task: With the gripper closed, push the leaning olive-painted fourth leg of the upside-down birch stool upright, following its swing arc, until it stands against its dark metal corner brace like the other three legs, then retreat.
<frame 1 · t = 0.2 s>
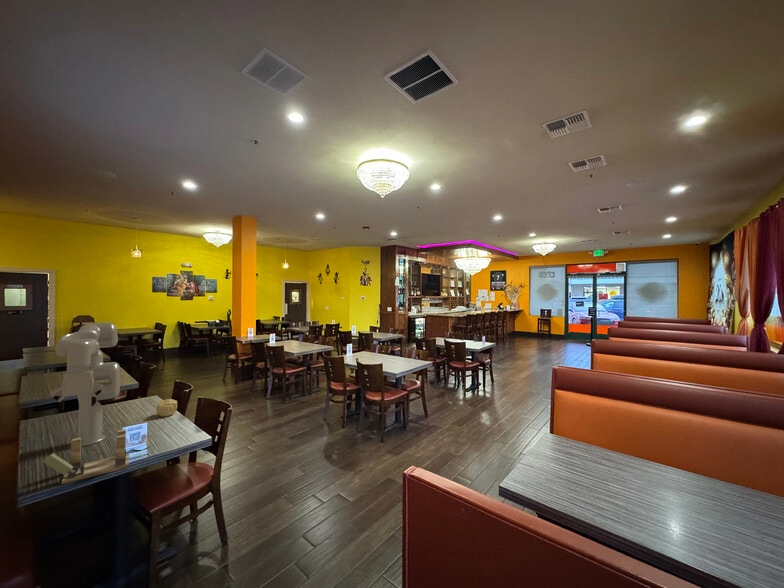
hand: (77, 407, 142), 31 cm above the table, fingers open, 9 cm apart
beige rounded lump: (166, 415, 218), on the table
stool seat: (98, 468, 149), on the table
hinged leg: (61, 466, 139), point 7 cm above the table, hinge at 40.0°
flask: (141, 448, 170), on the table
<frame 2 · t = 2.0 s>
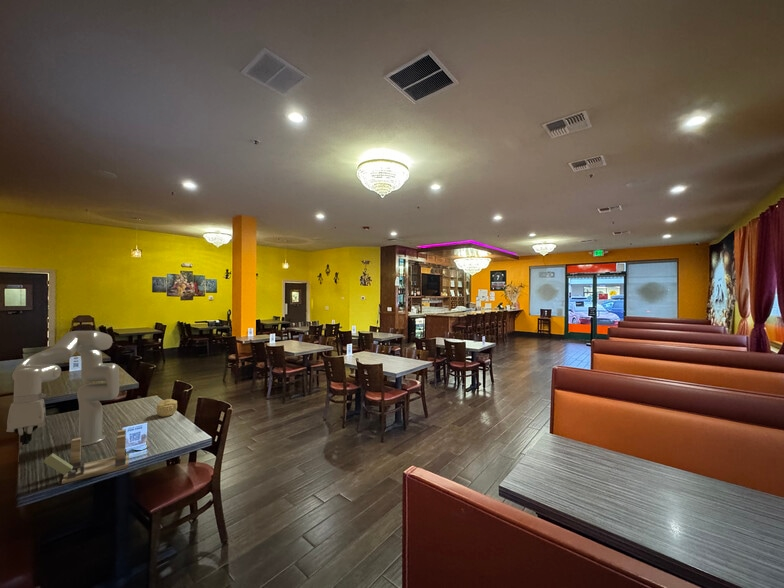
hand: (25, 443, 132), 19 cm above the table, fingers closed
nothing on the table moved.
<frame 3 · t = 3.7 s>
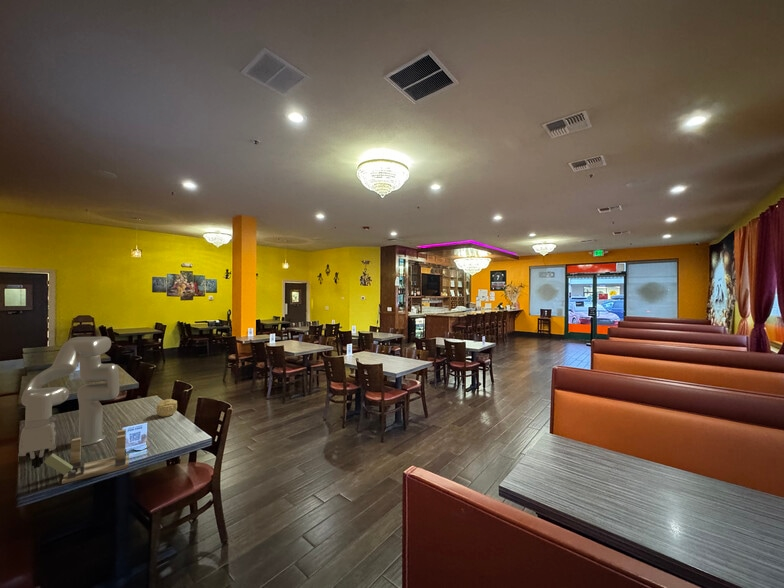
hand: (37, 466, 134), 9 cm above the table, fingers closed
hinged leg: (61, 466, 139), point 7 cm above the table, hinge at 40.0°, touching gripper
everything else where it was.
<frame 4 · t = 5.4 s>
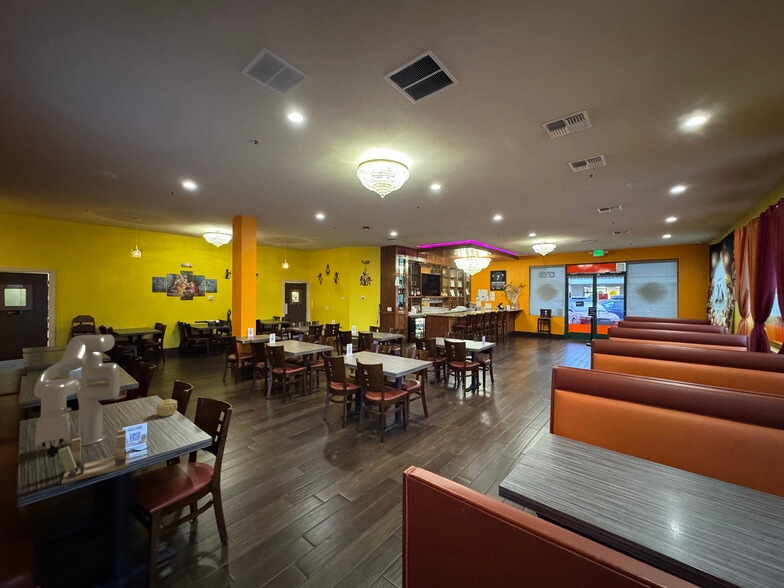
hand: (52, 455, 137), 12 cm above the table, fingers closed
hinged leg: (68, 461, 140), point 8 cm above the table, hinge at 15.0°, touching gripper
everything else where it was.
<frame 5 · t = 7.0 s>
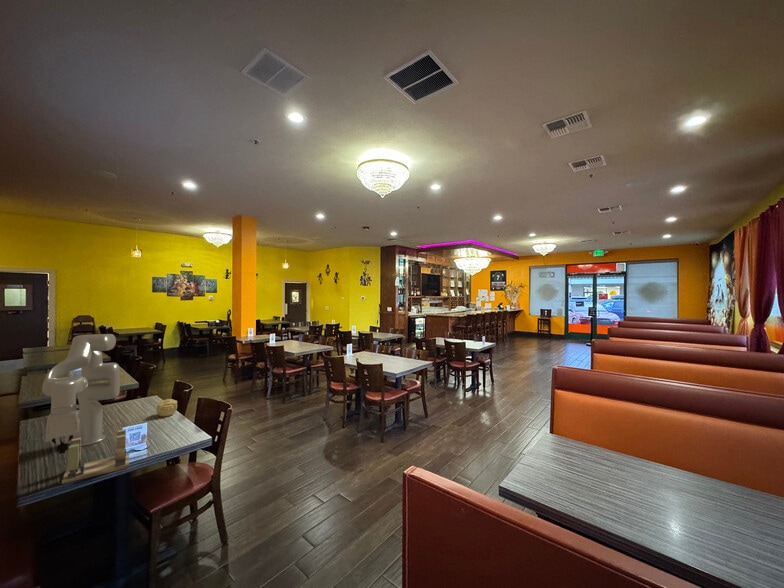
hand: (62, 452, 139), 12 cm above the table, fingers closed
hinged leg: (73, 460, 141), point 8 cm above the table, hinge at -0.7°
everything else where it was.
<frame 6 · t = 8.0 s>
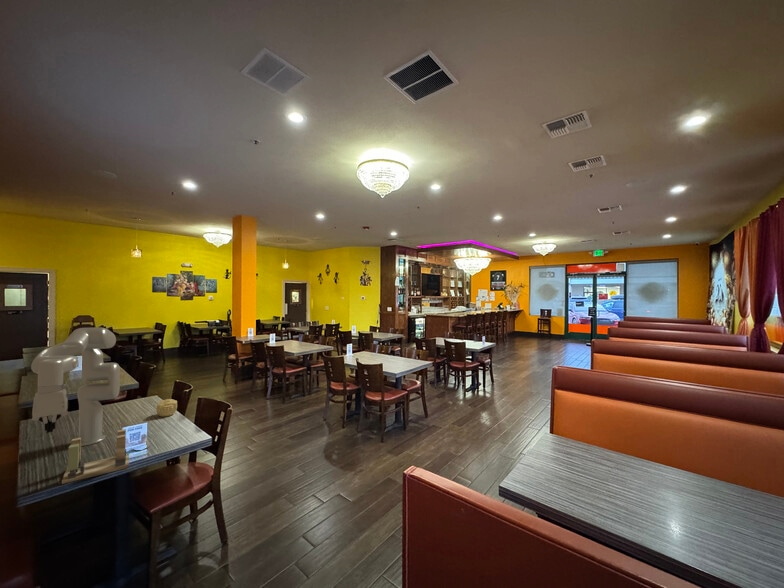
hand: (50, 431, 137), 22 cm above the table, fingers closed
nothing on the table moved.
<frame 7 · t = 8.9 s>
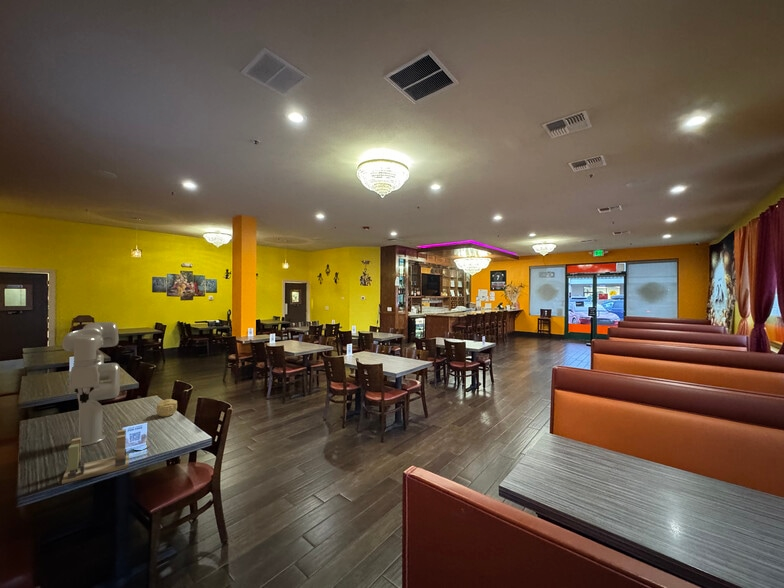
hand: (84, 402, 151), 30 cm above the table, fingers closed
nothing on the table moved.
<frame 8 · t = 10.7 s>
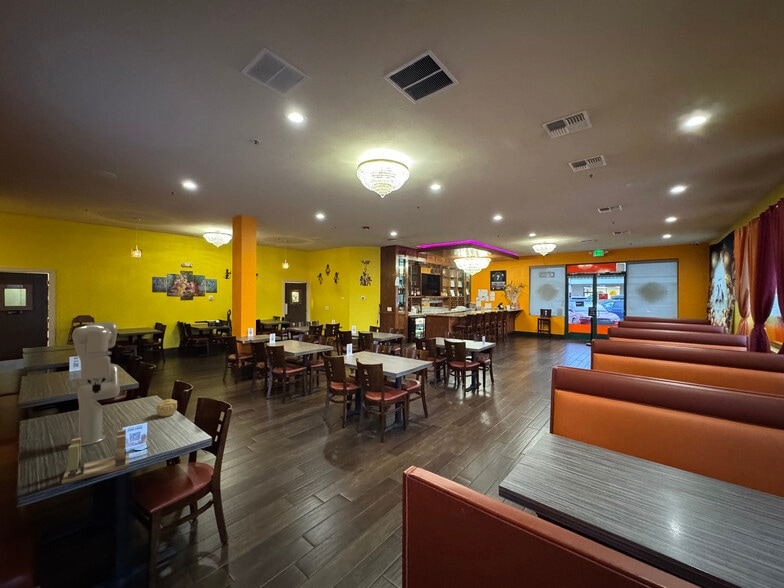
hand: (96, 392, 157), 33 cm above the table, fingers closed
nothing on the table moved.
at the end: hinged leg at -1° (first picture: +40°); the gripper is holding nothing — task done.
